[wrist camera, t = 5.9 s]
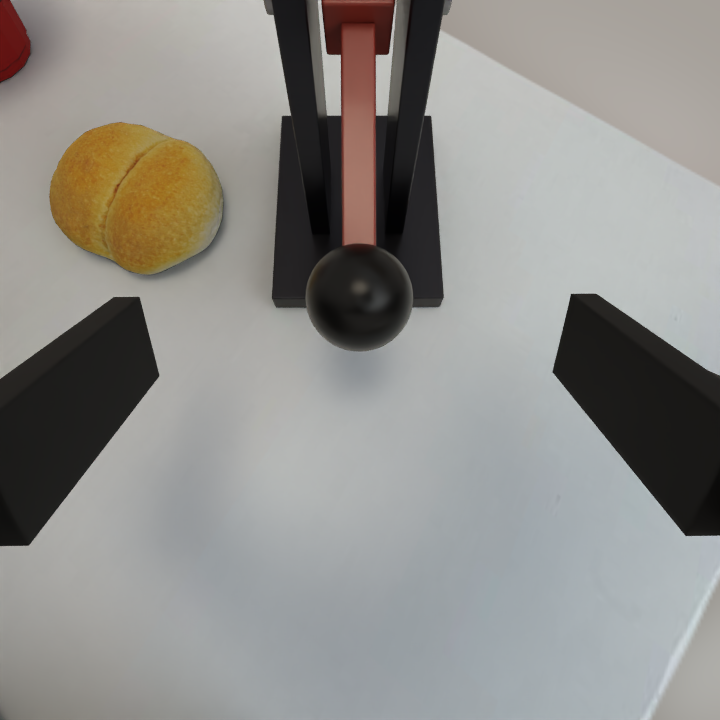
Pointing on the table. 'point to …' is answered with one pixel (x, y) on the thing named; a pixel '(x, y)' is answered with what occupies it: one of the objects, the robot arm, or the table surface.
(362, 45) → the lever
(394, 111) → the bracket
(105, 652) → the table surface
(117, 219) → the bread roll
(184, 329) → the table surface
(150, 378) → the robot arm
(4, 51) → the plastic cup
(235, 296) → the table surface
